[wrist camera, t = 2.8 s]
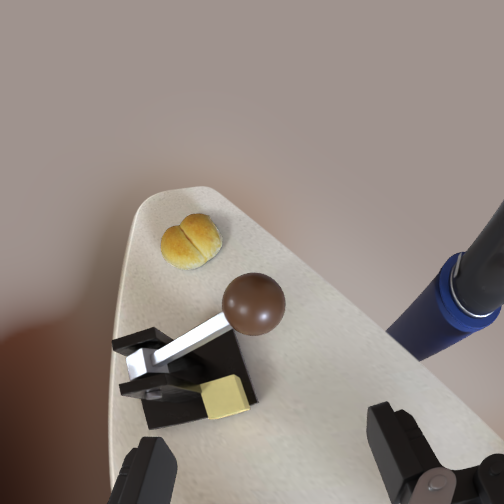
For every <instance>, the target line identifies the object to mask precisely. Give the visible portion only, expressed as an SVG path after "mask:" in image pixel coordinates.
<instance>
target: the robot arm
mask: <svg viewBox="0 0 504 504" xmlns="http://www.w3.org/2000/svg"><path fill="white" fill-rule="evenodd" d="M461 254H462V252H461V253H460V254H459V256H458V260H457V262H456V263H455V265H454V266H453V267H452V269H451V271H450V274H449V280H448V285H449V291H450V295H451V298H452V300H453V302H454V304H455V305H456V307H457V308H458V309H459V310H460V311H461V312H462V313H463V314H464V315H466V316H468V317H470V318H473V319H483V318H485V317H487V316H488V315H490V314H491V313H493V312H494V311H495V310H496V309H497V308H499V307H500V306H502V305H503V304H504V200H503V202H502V203H501V205H500V207H499V208H498V210H497V211H496V212H495V214H494V215H493V217H492V218H491V220H490V221H489V222H488V224H487V225H486V226H485V228H484V229H483V231H482V232H481V233H480V235H479V236H478V237H477V238H476V240H475V241H474V242H473V244H472V245H471V246H470V248H469V249H468V250H467V251H466V252H465V254H464V255H463V256H462V257H461ZM366 432H367V439H368V443H369V445H370V448H371V451H372V453H373V456H374V458H375V461H376V463H377V466H378V469H379V471H380V474H381V476H382V479H383V482H384V484H385V487H386V490H387V492H388V495H389V498H390V501H391V503H392V504H400V503H401V504H504V454H493V455H490V456H488V457H487V458H485V459H484V460H483V461H482V463H481V464H480V465H478V466H475V467H471V468H467V469H462V470H450V469H447V468H445V467H443V466H442V465H441V464H440V463H439V461H438V459H437V458H436V456H435V454H434V452H433V450H432V449H431V447H430V445H429V443H428V442H427V440H426V438H425V437H424V435H423V433H422V431H421V430H420V428H418V425H417V423H416V421H415V420H414V418H413V416H412V415H410V414H409V413H407V412H406V411H404V410H403V409H402V410H399V411H396V412H394V411H393V409H392V408H391V406H390V404H389V403H388V402H387V401H386V402H383V403H380V404H377V405H373V406H370V407H368V412H367V429H366ZM176 474H177V461H176V458H175V456H174V455H173V453H172V452H171V450H170V449H169V447H168V446H167V444H166V443H165V441H164V440H163V438H161V437H142V439H141V440H140V443H139V446H138V448H133V449H132V450H131V451H130V452H129V453H128V454H127V455H126V457H125V459H124V462H123V464H122V468H121V470H120V472H119V475H118V477H117V480H116V483H115V485H114V488H113V490H112V493H111V496H110V498H109V501H108V503H107V504H170V501H171V497H172V492H173V487H174V483H175V478H176Z"/></svg>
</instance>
